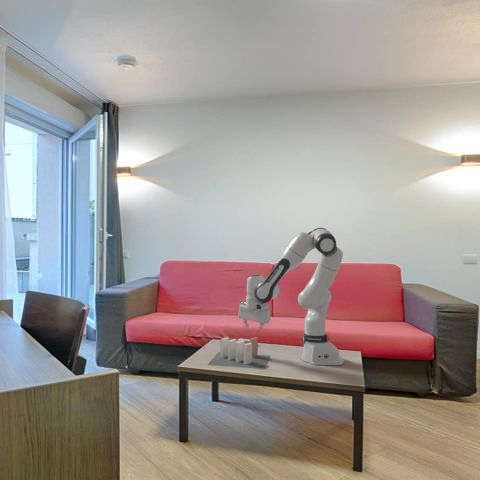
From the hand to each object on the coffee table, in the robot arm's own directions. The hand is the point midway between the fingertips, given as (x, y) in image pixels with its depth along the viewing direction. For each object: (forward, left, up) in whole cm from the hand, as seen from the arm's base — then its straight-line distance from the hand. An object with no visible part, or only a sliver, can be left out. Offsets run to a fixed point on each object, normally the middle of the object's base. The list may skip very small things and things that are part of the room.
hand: (253, 328), depth 210 cm
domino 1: (+15, +4, -15) cm, 22 cm away
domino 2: (+10, +7, -15) cm, 19 cm away
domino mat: (+6, +8, -16) cm, 18 cm away
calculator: (+9, -18, -16) cm, 26 cm away
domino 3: (+6, +10, -15) cm, 19 cm away
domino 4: (+1, +12, -15) cm, 19 cm away
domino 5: (0, 0, -15) cm, 15 cm away
